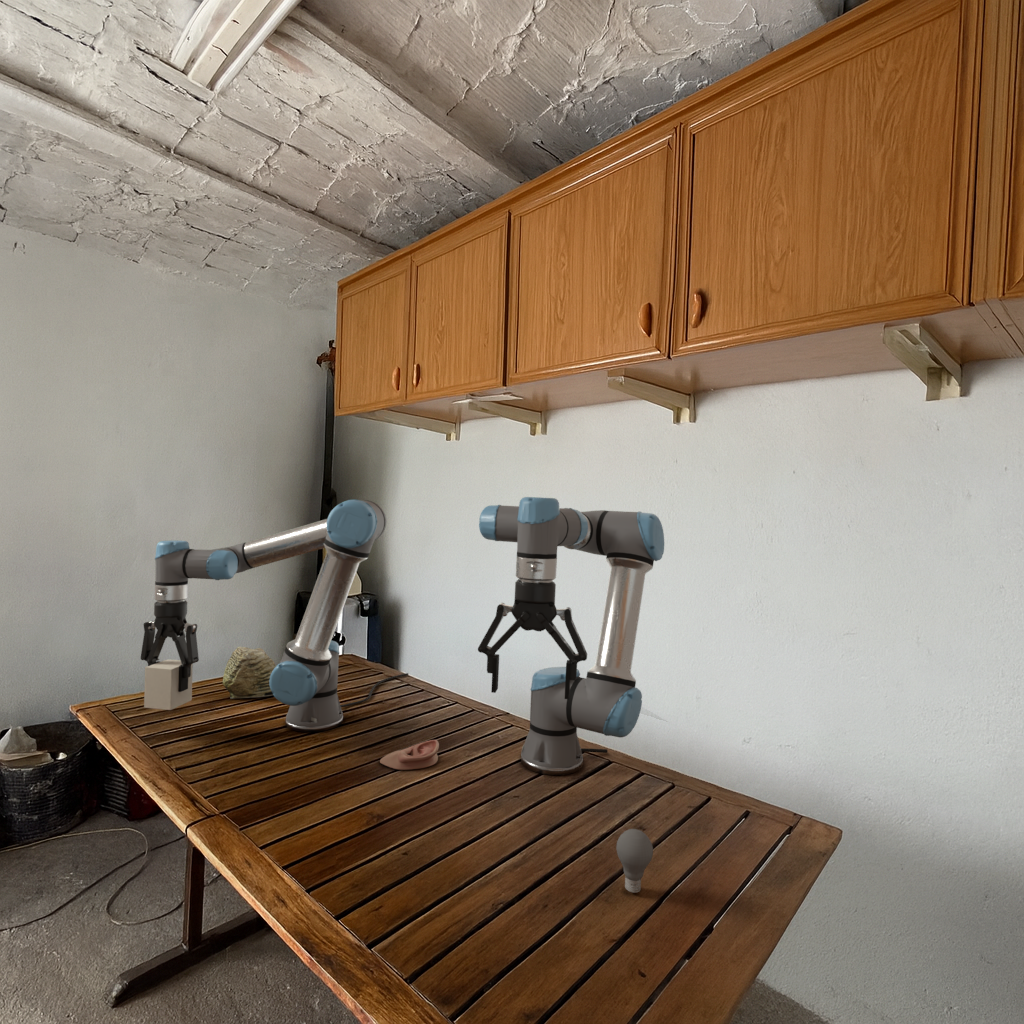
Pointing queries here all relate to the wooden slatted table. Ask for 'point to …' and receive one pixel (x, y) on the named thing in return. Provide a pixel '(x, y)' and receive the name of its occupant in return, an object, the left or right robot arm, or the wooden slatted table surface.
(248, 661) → the fossil
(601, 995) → the wooden slatted table surface
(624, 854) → the light bulb
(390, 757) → the anatomical model
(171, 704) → the brick
